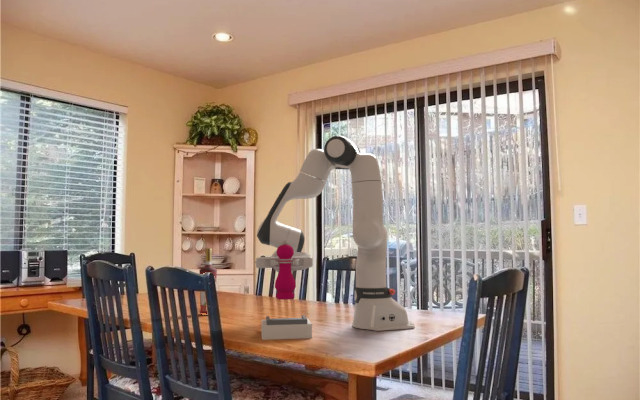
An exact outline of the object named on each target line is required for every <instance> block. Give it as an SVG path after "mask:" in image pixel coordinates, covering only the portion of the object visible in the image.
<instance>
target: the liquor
mask: <svg viewBox="0 0 640 400" xmlns="http://www.w3.org/2000/svg"><path fill="white" fill-rule="evenodd" d="M212 249H213V248H205V252H204V254H205V262H204V267H202V268H200V269H199V275H200V274H203V273H205V272H212V273H213V274H214V276H215V282H216V283H217V276H218V275H217V272H218V269H217V268H215V267H214V266H213V264H212V261H213V260H212V252H213V251H212ZM199 294H200V295H199V297H200V298H199V300H200V307H199V308H200V309H199V312H198V313H200V314H201V313H206V314H207V311H206V301H205V293H204V292H200V291H199Z"/></svg>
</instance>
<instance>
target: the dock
mask: <svg viewBox="0 0 640 400" xmlns="http://www.w3.org/2000/svg"><path fill="white" fill-rule="evenodd" d="M260 326H261V327H260V329H261V332H260V333H261V340H262V341H264V340H265V341H268V340H289V339H290V340H294V339H299V340H300V339H313V323H312V322H311V321H310V319H309V318H307V317H306V315H305V314H301V317H287V318H286V317H284V318H283V317H282V318H270V316H269V315H267V316H265V319H261V324H260Z"/></svg>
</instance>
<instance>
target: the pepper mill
mask: <svg viewBox="0 0 640 400" xmlns="http://www.w3.org/2000/svg"><path fill="white" fill-rule="evenodd" d="M287 244H288V242H287V240H284V241H283V245H281V246H279V247H278V248H277V249H276V251H277V256H278V257H279V259H278V260H279V261H278V263H279V272H278V274H277V277H276V280H275V282H274V288H275V290H276V291H277V293H276V297H275V298H276V300H282V301H283V300H285V301H286V300H293V299H295V297H296V296H295V295H296V294H295V292H294V290H295V289H296V287H297V284H296V280H295V278H294V275H293V271H291V263H292V259H291V258H292V256H293V255H294V250H293V248H292V247H291V246H290V245H287Z"/></svg>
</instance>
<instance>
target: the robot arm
mask: <svg viewBox="0 0 640 400" xmlns="http://www.w3.org/2000/svg"><path fill="white" fill-rule="evenodd" d="M333 169H335V170H349V171H350V172H349V173H350V175H351V189H352V190H351V191H352V203H353V204H352V208H353V209H352V238H353V239H352V240H353V241H354V243H355V244H356V245H357V255H356V263H355V287H354V302H355V304H354V305H355V306H354V307H355V309H354V314H353V320H352V324H351V327H353V328H356V329H362V330H371V331H375V332H376V331H377V332H381V331H393V330H395V331H396V330H406V329H407V330H408V329H414V328H415V323H414V322H412V321H410V320H409V317H408V316H409V315H408V313H407V310H406V309H405V307H404V306H402V305H401V304H400V303H399V302H397V300H396V299H393V297H392V296H394V295H395V293H396V290H395V288H390V287H388V286H387V246H388V244H387V243H388V232H387V229H386V227H385V225H384V221H383V220H384V217H383V214H384V213H383V212H384V211H383V210H384V209H383V208H384V207H383V205H384V199H383V188H382V187H383V186H382V176H381V170H380V164H379V162H378V158H377V157H376V155H374V154H372V153H369V152H367V153H366V152H364V153H363V152H362V153H361V150H360V148H359V147H358V146H357V145H356V144H355V143H354V142H353V140H351V139H349V138H348V137H345V136H343V135H333V136H332V137H330V138H328V139H327V140H326V141H325V143H324V148H323V149H322V148H315V149H314V148H313V149H311V150H310V151H309V152H308V154H307V155H306V157H305V159H304V161H303V163H302V165H301V167H300V169H299V172H298V175H297V176H296V177H295V179H294V180H293V181H289V182H287V183H286V184H285V185H284V187H283V188H282V190H281V191H280V193H278V196H277V197H276V199H275V201H274V202H273V204H272V206H271V208H270V210H269V211H268V214H267V215H266V217H265V218H264V219H263V221H262V222H261V223H260V224H259V226H258V229H257V231H256V237H257V238H258V241H259V242H260V243H261V245H267V246H271V247H274V248H278V247H279V246H281V245H283V241H284V240H287V242H288V244H287V245H290V246H291V247H292V248H293V250H294V255H293V256H292V258H291V259H292V263H291V271H292V272H295V271H304V270H305V271H306V270H307V269H309V268H313V265H314V263H313V262H314V259H313V256H311V254H307V252H305V251H303V248H304V245H305V239H306V238H305V235H304V232H303V230H302V229H300V228H297V227H294V226H290V225H287V224H285V223H282V222H280V221H278V220H277V219H278V217H279V216H280V214H281V212H282V210H284V209H283V208H285V205H286V204H287V203H288V202H290V201H292V200H307V199H314V198H317V197H318V196H319V195H321V193H322V192H323V190H324V188H325V186H326V182H327V180H328V178H329V175H330V173H331V172H332V170H333ZM278 259H279V257H278V256H277V250H275V251H274V252H273V253H272V254H271V256H258V257H256V258H255V261H254V263H255V267H256V268H257V269H272V268H273V270H274V271H276V272H277V273H279V263H278V261H279V260H278Z"/></svg>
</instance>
